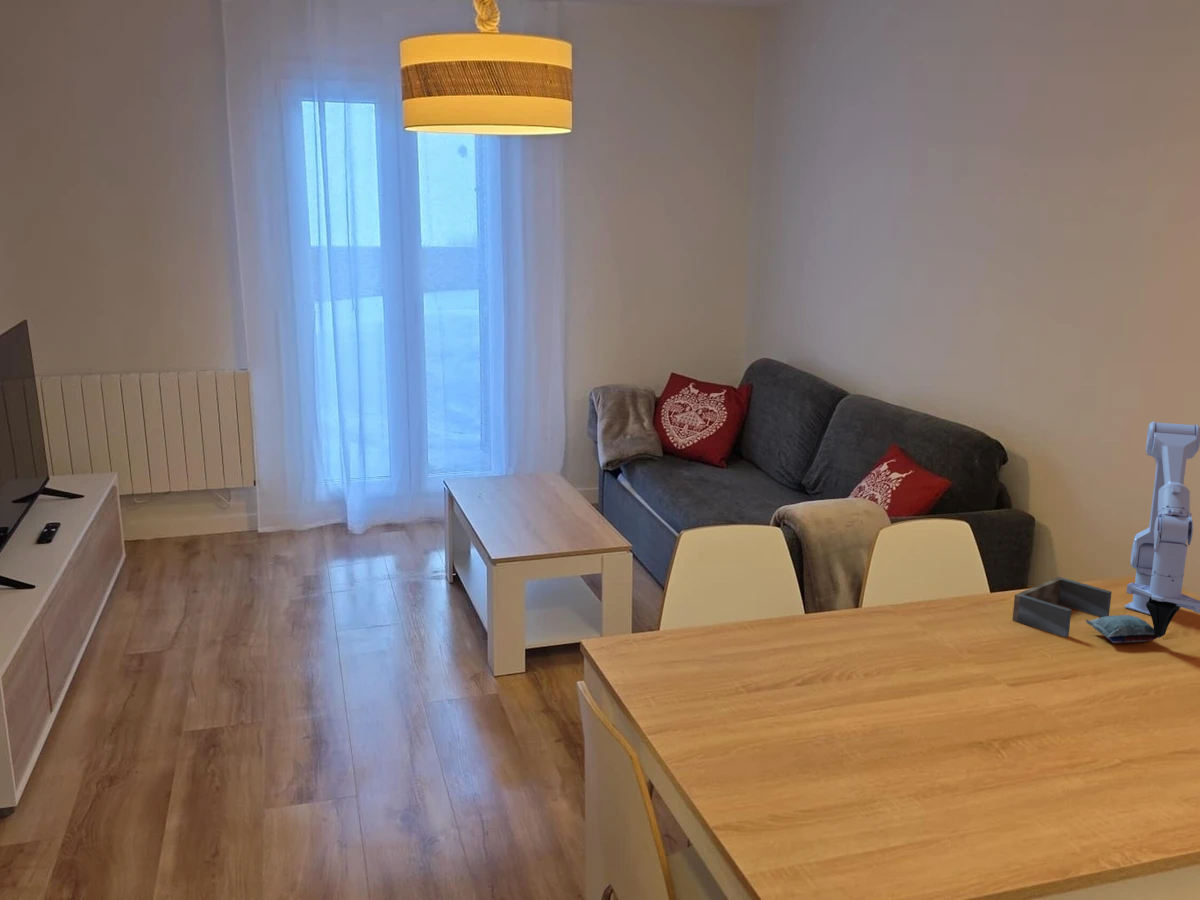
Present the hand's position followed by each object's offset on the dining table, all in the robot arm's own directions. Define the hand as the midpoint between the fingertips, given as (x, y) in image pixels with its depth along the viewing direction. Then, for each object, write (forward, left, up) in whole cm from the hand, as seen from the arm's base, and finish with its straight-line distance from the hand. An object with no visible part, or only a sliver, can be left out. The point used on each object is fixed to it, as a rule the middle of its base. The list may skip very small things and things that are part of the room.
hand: (1159, 635), depth 216 cm
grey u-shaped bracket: (+1, -21, -3) cm, 21 cm away
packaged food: (+1, -7, -3) cm, 8 cm away
